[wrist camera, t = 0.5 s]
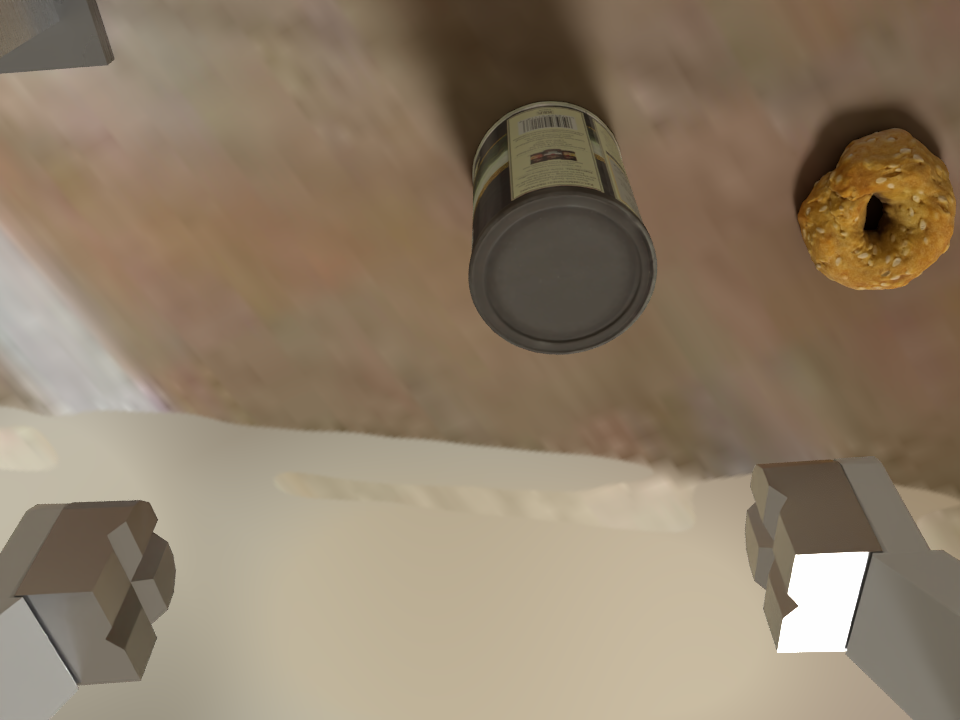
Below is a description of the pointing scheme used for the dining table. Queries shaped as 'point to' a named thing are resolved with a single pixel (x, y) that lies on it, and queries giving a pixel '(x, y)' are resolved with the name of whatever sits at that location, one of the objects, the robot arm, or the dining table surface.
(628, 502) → the dining table surface
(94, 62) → the cup bracket
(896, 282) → the bagel
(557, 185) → the coffee can
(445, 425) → the dining table surface
